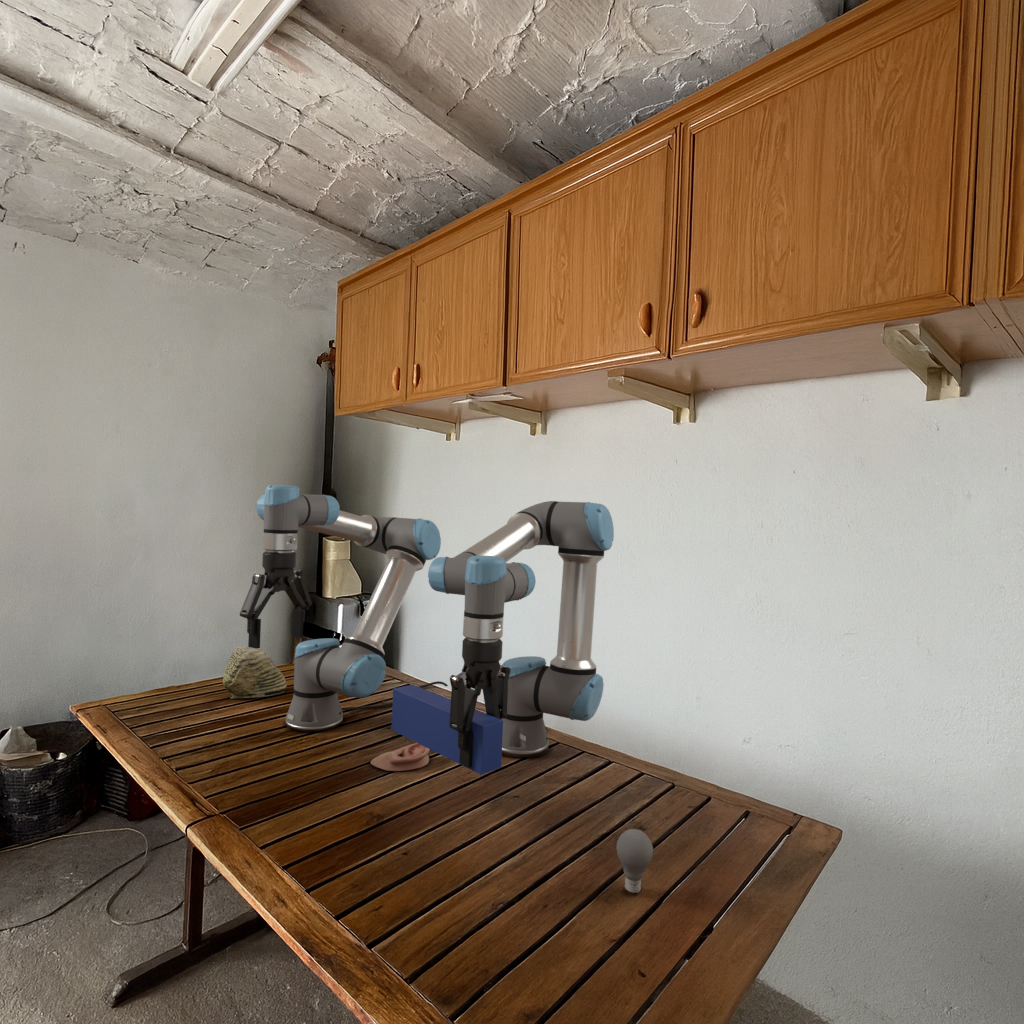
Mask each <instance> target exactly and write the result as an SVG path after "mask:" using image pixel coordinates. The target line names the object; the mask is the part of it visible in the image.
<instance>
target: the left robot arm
mask: <svg viewBox="0 0 1024 1024" xmlns="http://www.w3.org/2000/svg"><path fill="white" fill-rule="evenodd" d="M264 491H265V492H264V493H263V494H262V495H260V497H258V500H257V501H256V506H255V508H256V509H255V510H256V513H257V516H258V517H259V519H261V520H263V535H262V536H263V537H262V550H264V551H263V553H262V559H261V560H262V561H261V565H262V566H261V567H262V568H263V569H264V572H263V574H262V573H261V574H260V573H253V574H252V577H251V579H252V580H251V584H250V587H249V590H248V592H247V593H246V597H245V599H244V601H243V604H242V607H241V609H240V611H239V617H242V618H244V619H246V622H247V623H246V632H247V634H248V641H247V642H248V643H247V644H248V645H247V648H250V649H258V648H261V631H262V618H259V617H260V615H261V614H262V612H263V610H264V609H265V607H266V605H267V604H268V602H269V601H270V599H271V597H272V596H273V595H275V593H279V592H285V593H286V595H287V596H288V598H289V600H290V601H291V603H292V604H293V606H294V607H295V608H294V609H292V621H291V622H292V628H291V637H294V638H295V637H296V638H304V623H305V620H306V619H305V618H306V611H309V609H310V607H311V606H312V605H313V601H312V599H311V596H310V593H309V589H308V587H307V585H306V581H305V573H304V572H305V571H304V570H303V569H298V568H297V561H298V553H297V552H296V550H297V549H298V533H299V531H298V530H299V528H301V529H304V530H308V531H313V532H316V533H319V534H324V535H327V536H332V537H336V538H339V539H345V540H348V541H352V542H353V543H354V544H355V545H356V546H359V547H362V548H365V549H369V550H372V551H375V552H377V553H380V554H384V555H386V557H387V562H386V564H385V566H384V569H383V570H382V573H381V575H380V577H379V579H378V581H377V583H376V585H375V587H374V589H373V591H372V594H371V596H370V598H369V600H368V603H367V604H366V607H365V609H364V611H363V613H362V615H361V617H360V618H359V621H358V624H357V626H356V627H355V630H354V632H353V634H351V635H349V636H346V637H345V638H344V640H343V642H342V643H340V641H339V639H338V638H335V637H333V638H332V637H329V638H315V639H308V640H304V641H302V642H299V643H298V644H297V645H296V646H295V652H294V653H295V654H294V656H293V659H294V660H293V662H294V663H293V665H294V667H293V695H292V696H293V697H292V699H291V702H290V704H289V708H288V711H287V713H286V715H285V726H286V728H287V729H289V730H291V731H294V732H295V731H296V732H301V733H316V732H325V731H329V730H332V729H335V728H337V727H339V726H340V725H342V723H343V722H344V714H343V711H351V710H352V711H353V710H365V709H366V710H367V709H377V708H378V709H379V708H385V707H389V706H392V703H393V701H390V702H386V703H382V704H373V705H360V706H346V707H345V706H344V707H342V706H341V702H340V699H339V695H338V694H341V695H345V696H347V697H348V698H357V699H358V698H359V699H365V698H367V697H370V696H372V695H373V694H374V693H376V692H377V691H378V690H379V689H380V687H382V684H383V682H384V680H385V678H386V674H387V671H386V667H387V665H386V664H387V663H386V661H385V659H384V658H385V650H384V648H383V647H384V644H385V642H386V640H387V637H388V635H389V633H390V630H391V628H392V626H393V623H394V621H395V619H396V617H397V614H398V612H399V610H400V608H401V606H402V603H403V601H404V599H405V597H406V594H407V591H409V588H410V585H411V583H412V580H413V579H414V577H415V574H416V572H418V571H421V570H423V568H424V566H425V564H426V563H427V561H431V560H434V559H436V558H437V557H438V555H439V554H440V550H441V545H442V538H441V533H440V530H439V528H438V526H437V525H436V524H435V522H433V521H432V520H430V519H424V518H420V517H419V518H407V517H397V516H396V517H394V516H392V517H391V516H387V517H386V516H373V515H370V514H363V515H358V514H354V513H351V512H347V511H344V510H341V509H340V503H339V501H338V500H337V498H335V497H334V496H332V495H327V494H309V493H308V494H307V493H300V488H299V486H298V485H287V484H286V485H285V484H284V485H283V484H269V485H268V486H266V488H265V490H264ZM340 646H341V647H340ZM433 685H443V686H444V687H448V686H449V685H448V684H447V683H446V682H444V681H432V682H429V683H426V684H423V685H418V686H417V687H420V688H422V689H425V688H427V687H430V686H433Z"/></svg>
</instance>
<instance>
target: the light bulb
mask: <svg viewBox="0 0 1024 1024" xmlns="http://www.w3.org/2000/svg"><path fill="white" fill-rule="evenodd" d="M615 849H616V854H617V857H618V859H619V861H620V863H621V865H622V867H623V873H624V874H623V875H624V876H625V878H624V888H625V890H627V891H628V892H630V893H634V894H635V893H639V892H640V891H641V889H642V887H641V886H642V879H643V877H644V875H645V871H646V868H647V867H648V866H649V864H650V863H651V861H652V859H653V855H654V847H653V843H652V841H651V838H649V836H648V835H647V834H646V833H645V832H643V831H642V830H641V829H636V828H629V829H627V830H625V831H623V832H622V833H621V834H620V835H619V837H618V839H617V841H616V847H615Z"/></svg>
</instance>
